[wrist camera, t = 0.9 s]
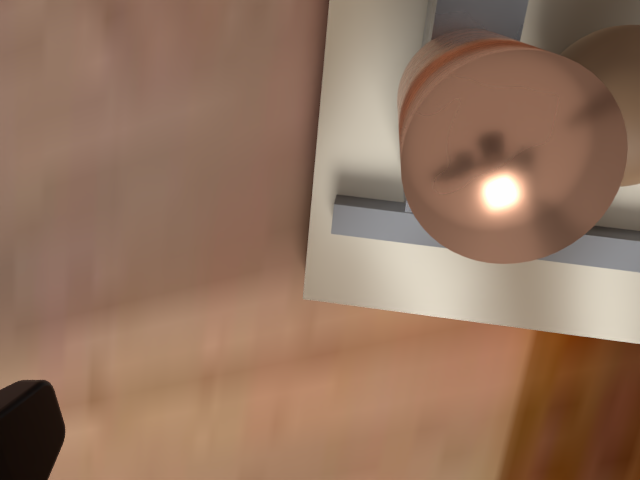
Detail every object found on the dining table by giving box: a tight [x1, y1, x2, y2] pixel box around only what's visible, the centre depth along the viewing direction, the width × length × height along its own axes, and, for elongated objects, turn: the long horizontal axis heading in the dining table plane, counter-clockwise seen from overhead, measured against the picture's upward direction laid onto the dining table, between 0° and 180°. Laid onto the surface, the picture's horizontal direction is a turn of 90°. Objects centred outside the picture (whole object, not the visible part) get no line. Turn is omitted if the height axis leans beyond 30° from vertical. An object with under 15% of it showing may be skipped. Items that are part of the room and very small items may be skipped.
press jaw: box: [397, 0, 628, 264], centre depth 13 cm, size 3×6×10 cm, turn 175°
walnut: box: [560, 25, 640, 187], centre depth 15 cm, size 4×4×4 cm
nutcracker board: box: [303, 0, 640, 344], centre depth 16 cm, size 16×16×6 cm
